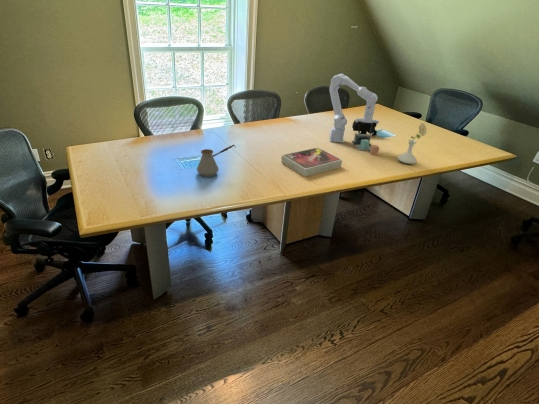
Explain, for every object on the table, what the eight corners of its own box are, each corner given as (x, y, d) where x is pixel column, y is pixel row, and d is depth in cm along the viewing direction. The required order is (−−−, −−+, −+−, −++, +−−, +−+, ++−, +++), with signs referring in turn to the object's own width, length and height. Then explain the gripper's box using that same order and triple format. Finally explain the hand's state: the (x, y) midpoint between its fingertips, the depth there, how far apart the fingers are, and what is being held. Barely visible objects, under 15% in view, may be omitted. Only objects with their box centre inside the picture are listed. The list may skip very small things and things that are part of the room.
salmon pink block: (371, 154, 220) (373, 147, 218) (370, 152, 224) (371, 145, 221) (377, 155, 220) (379, 147, 218) (376, 152, 224) (377, 145, 221)
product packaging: (281, 162, 202) (281, 155, 199) (316, 154, 216) (317, 147, 214) (304, 177, 187) (305, 169, 184) (340, 167, 201) (342, 159, 199)
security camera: (377, 137, 250) (380, 123, 245) (352, 135, 250) (354, 122, 245) (374, 134, 256) (377, 121, 251) (350, 132, 256) (353, 119, 251)
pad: (357, 150, 225) (357, 149, 225) (355, 145, 232) (355, 144, 232) (372, 151, 225) (372, 150, 225) (369, 146, 232) (369, 145, 232)
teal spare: (363, 149, 226) (364, 141, 223) (359, 146, 229) (361, 139, 227) (368, 148, 227) (369, 141, 225) (364, 146, 231) (366, 139, 228)
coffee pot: (200, 179, 176) (198, 153, 168) (194, 170, 185) (193, 144, 177) (238, 174, 184) (239, 148, 177) (231, 165, 193) (231, 140, 186)
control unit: (353, 144, 234) (354, 135, 231) (351, 141, 238) (353, 133, 235) (370, 145, 234) (372, 136, 231) (368, 143, 238) (370, 134, 235)
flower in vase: (404, 166, 207) (415, 126, 194) (393, 158, 216) (403, 120, 204) (422, 164, 211) (434, 125, 198) (410, 157, 220) (421, 119, 207)
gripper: (378, 112, 223) (374, 132, 230) (356, 110, 223) (352, 130, 231) (381, 115, 217) (376, 135, 224) (358, 113, 217) (354, 133, 224)
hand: (364, 133), depth 227 cm, fingers open, 7 cm apart
